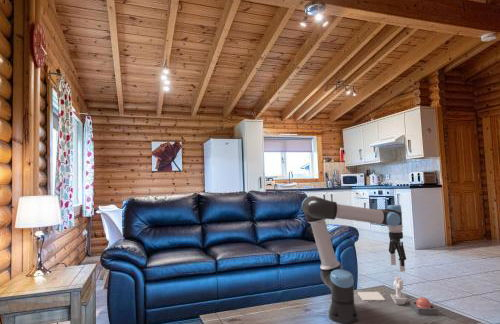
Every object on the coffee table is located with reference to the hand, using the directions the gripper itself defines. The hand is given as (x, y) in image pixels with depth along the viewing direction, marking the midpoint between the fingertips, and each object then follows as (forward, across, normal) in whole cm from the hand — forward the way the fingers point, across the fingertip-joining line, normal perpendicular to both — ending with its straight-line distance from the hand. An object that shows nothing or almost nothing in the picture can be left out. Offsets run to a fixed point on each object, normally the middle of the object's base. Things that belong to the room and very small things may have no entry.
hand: (397, 268), depth 190 cm
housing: (+20, -11, -9) cm, 25 cm away
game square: (+20, +10, +13) cm, 26 cm away
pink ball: (+21, -11, -9) cm, 25 cm away
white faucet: (+20, 0, 0) cm, 20 cm away
